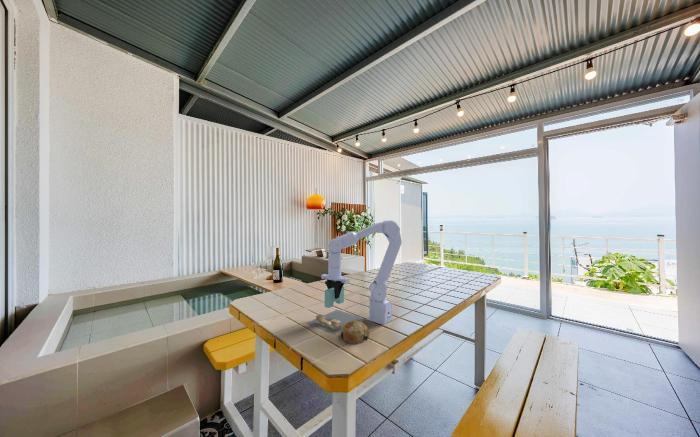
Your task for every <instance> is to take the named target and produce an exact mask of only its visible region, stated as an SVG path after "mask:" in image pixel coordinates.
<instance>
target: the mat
mask: <svg viewBox="0 0 700 437" xmlns="http://www.w3.org/2000/svg"><path fill="white" fill-rule="evenodd" d="M323 315H324V316H326V320H327V321H330V322H331V320H333V319H336V320H339V321H341V329H340V330H335V329H332V328H329V327H327V326H324V325H321V324H318V323H316V318H315V319H312V320H311V321H308V322H305V325H306V324H307V325H309V326H312V327H314V328H317V329H320V330H323V331H325V332H328V333H331V334H334V335H335V334H338V333H339V332H341V330H342V328H343V326H345V325H346V324H347V323H348V322H351V321H359V322H361V320H364V317H363V316H360V315H356V314H354V313H353V314H352V313H351V312H350V313H349V312H345V311H342V310H339V309H336V310H333V311H331V312H329V313H327V314H323Z"/></svg>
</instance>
